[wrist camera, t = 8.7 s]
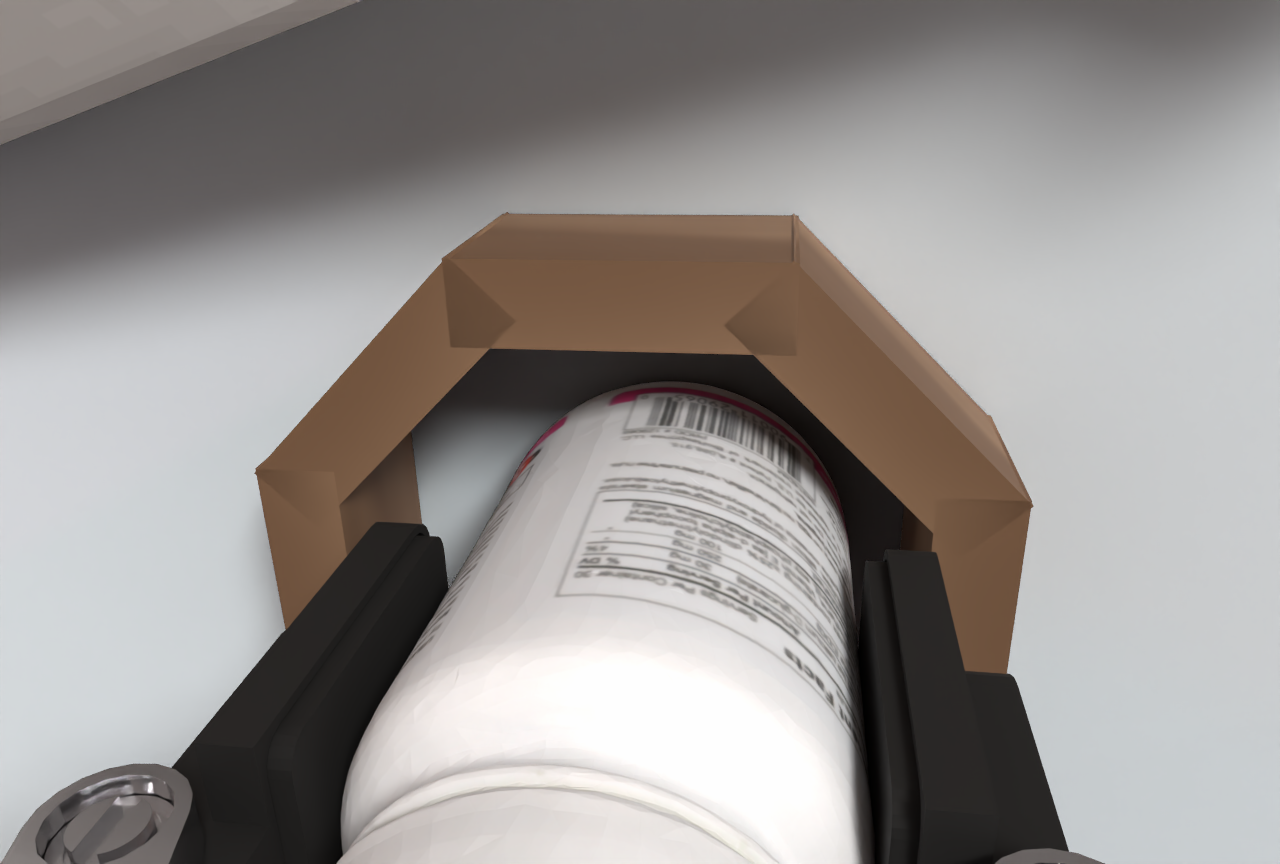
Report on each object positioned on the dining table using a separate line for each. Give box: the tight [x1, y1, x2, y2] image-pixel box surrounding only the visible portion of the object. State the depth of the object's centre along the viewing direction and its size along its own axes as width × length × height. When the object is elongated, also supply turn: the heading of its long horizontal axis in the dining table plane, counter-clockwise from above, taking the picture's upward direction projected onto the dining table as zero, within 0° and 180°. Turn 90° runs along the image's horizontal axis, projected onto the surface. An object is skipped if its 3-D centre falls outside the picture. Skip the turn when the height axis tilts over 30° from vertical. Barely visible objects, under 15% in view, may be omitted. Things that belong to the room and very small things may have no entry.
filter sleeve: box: [255, 212, 1033, 674], centre depth 13 cm, size 9×9×2 cm
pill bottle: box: [336, 382, 875, 864], centre depth 10 cm, size 5×5×8 cm
